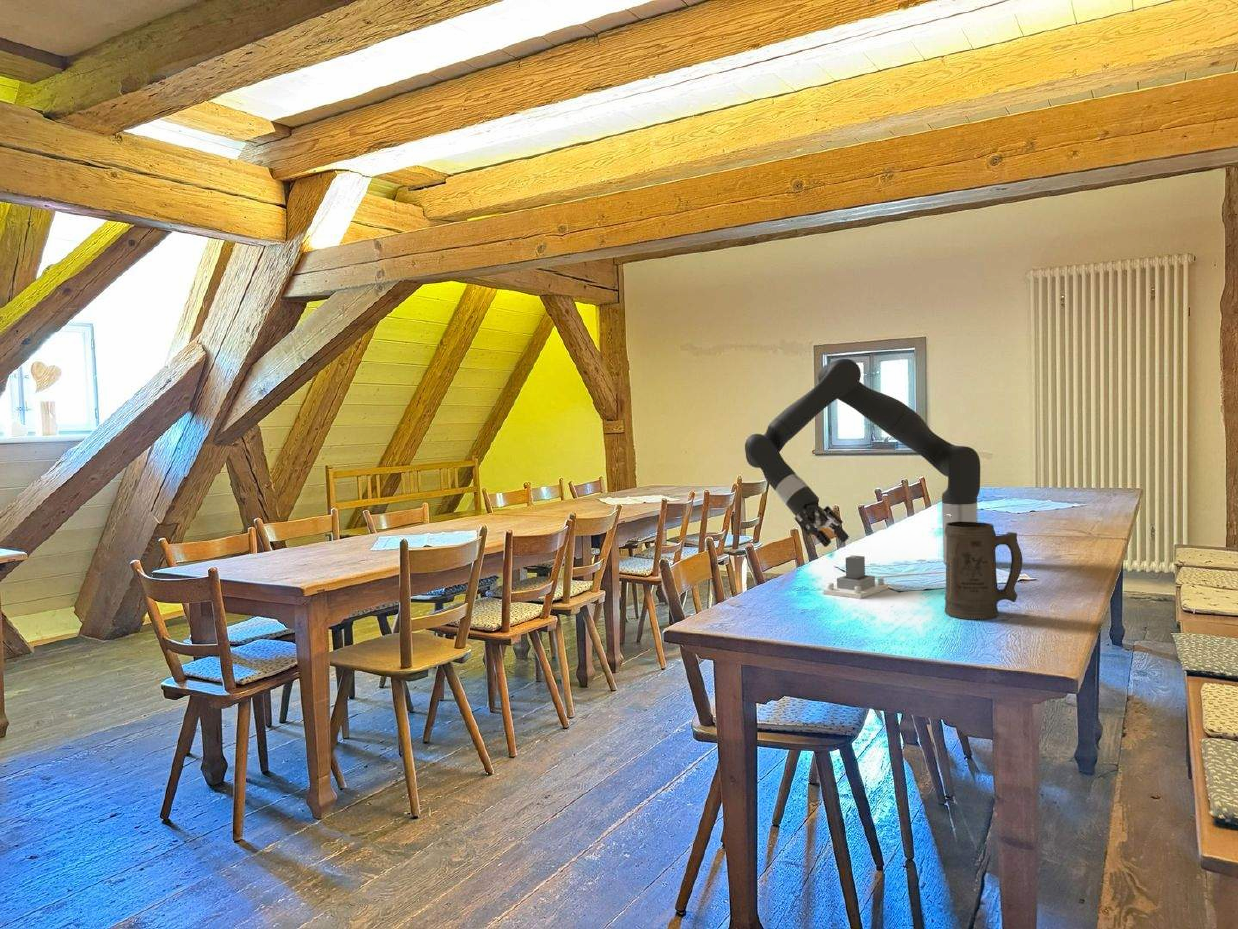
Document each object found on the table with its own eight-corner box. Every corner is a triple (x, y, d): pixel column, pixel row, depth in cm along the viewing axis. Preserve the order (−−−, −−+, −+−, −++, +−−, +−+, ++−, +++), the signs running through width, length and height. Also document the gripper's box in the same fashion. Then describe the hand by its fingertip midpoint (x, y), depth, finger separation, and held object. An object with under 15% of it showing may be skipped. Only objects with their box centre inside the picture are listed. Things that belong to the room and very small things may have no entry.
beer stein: (944, 619, 177) (949, 525, 176) (937, 607, 188) (942, 518, 186) (1023, 625, 174) (1028, 529, 172) (1012, 612, 184) (1017, 522, 183)
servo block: (854, 585, 211) (853, 553, 210) (865, 586, 209) (864, 554, 208) (846, 588, 208) (845, 556, 208) (857, 589, 206) (856, 557, 206)
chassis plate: (852, 584, 217) (852, 570, 217) (888, 588, 210) (888, 574, 210) (823, 593, 207) (822, 579, 207) (860, 598, 200) (859, 584, 200)
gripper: (789, 488, 211) (831, 536, 204) (820, 483, 222) (861, 528, 214) (773, 508, 216) (813, 556, 208) (803, 502, 226) (843, 547, 218)
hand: (837, 542), depth 211 cm, fingers open, 8 cm apart
